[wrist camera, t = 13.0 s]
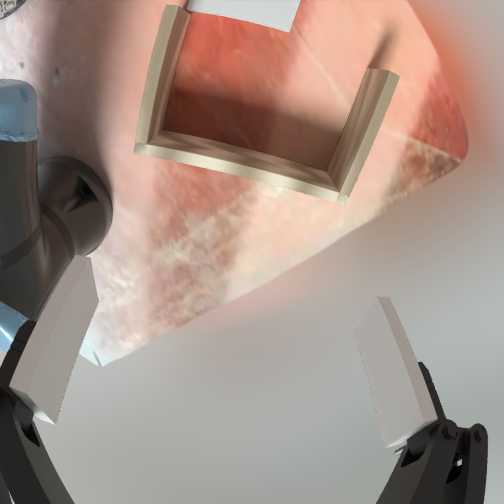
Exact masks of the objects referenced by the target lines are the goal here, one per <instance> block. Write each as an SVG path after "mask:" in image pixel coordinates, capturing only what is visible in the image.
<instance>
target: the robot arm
mask: <svg viewBox="0 0 504 504" xmlns="http://www.w3.org/2000/svg"><path fill="white" fill-rule="evenodd" d="M38 137H39V130H38V128H37V95H36V92H35V90H34V88H33V87H32V86H31V85H30V84H29V83H27V82H25V81H21V80H14V79H0V350H3V351H6V352H7V354H6V356H5V358H4V361H3V363H2V365H1V367H0V504H12V502H11V498H10V495H9V492H10V494H11V496H12V499H13V501H14V503H15V504H75V503H74V502H73V500H72V498H71V497H70V495H69V493H68V492H67V490H66V488H65V486H64V485H63V483H62V481H61V479H60V477H59V476H58V474H57V472H56V470H55V468H54V466H53V464H52V462H51V460H50V458H49V456H48V453H47V451H46V449H45V447H44V445H43V442H42V440H41V438H40V435H39V433H38V431H37V428H36V426H35V423H34V421H33V420H32V419H33V415H34V414H35V415H36V416H37V417H39V418H40V419H42V420H44V421H47V422H49V423H52V424H55V425H56V423H57V419H58V415H59V412H60V408H61V405H62V401H63V398H64V394H65V392H66V388H67V385H68V382H69V379H70V376H71V373H72V370H73V367H74V364H75V361H76V358H77V356H78V353H79V350H80V347H81V345H82V342H83V339H84V337H85V334H86V332H87V329H88V327H89V324H90V322H91V319H92V317H93V314H94V312H95V309H96V307H97V305H98V302H99V300H98V295H97V291H96V286H95V281H94V275H93V270H92V264H91V258H90V257H84V256H86V255H88V254H90V253H92V252H93V251H95V250H96V249H97V248H98V247H99V246H100V244H101V243H102V241H103V240H104V238H105V237H106V235H107V234H108V232H109V229H110V226H111V222H112V207H111V202H110V198H109V195H108V193H107V190H106V188H105V186H104V185H103V183H102V181H101V180H100V179H99V177H98V176H97V175H96V174H95V173H94V172H93V171H92V170H91V169H90V168H89V167H88V166H86V165H85V164H83V163H82V162H80V161H78V160H76V159H73V158H70V157H63V156H59V157H53V158H49V159H47V160H45V161H44V162H42V163H41V164H39V165H38V166H37V139H38ZM354 335H355V338H356V341H357V345H358V348H359V351H360V355H361V358H362V362H363V365H364V369H365V372H366V376H367V379H368V383H369V386H370V390H371V394H372V398H373V401H374V405H375V409H376V413H377V417H378V421H379V425H380V429H381V434H382V438H383V442H384V447H390V446H394V445H398V444H400V443H402V442H403V441H405V440H407V445H405V446H403V447H401V448H399V449H398V450H396V451H395V453H394V454H395V455H396V454H398V453H400V452H402V453H401V454H400V455H398V457H399V459H398V462H397V464H396V466H395V468H394V470H393V472H392V474H391V476H390V478H389V480H388V482H387V484H386V486H385V488H384V490H383V492H382V494H381V495H380V497H379V499H378V501H377V503H376V504H483V503H484V495H485V486H486V475H487V457H488V435H487V431H486V429H485V427H484V426H483V425H481V424H475V425H473V426H472V427H470V428H461V427H457V425H456V423H454V422H453V421H452V420H448V419H446V417H445V415H444V412H443V409H442V406H441V403H440V400H439V397H438V394H437V392H436V390H435V386H434V384H433V382H432V379H431V376H430V373H429V371H428V369H427V368H426V367H425V365H424V364H423V363H422V362H417V360H416V357H415V355H414V352H413V350H412V347H411V345H410V342H409V340H408V338H407V335H406V333H405V331H404V329H403V326H402V324H401V322H400V319H399V317H398V315H397V313H396V310H395V308H394V306H393V304H392V302H391V300H390V298H386V297H377V298H376V299H375V301H374V303H373V304H372V306H371V307H370V309H369V310H368V312H367V314H366V315H365V317H364V319H363V320H362V321H361V323H360V324H359V326H358V327H357V329H356V330H355V332H354ZM461 459H462V465H460V466H458V465H457V461H459V460H461ZM8 490H9V491H8Z"/></svg>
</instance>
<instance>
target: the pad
mask: <svg viewBox="0 0 504 504" xmlns="http://www.w3.org/2000/svg"><path fill="white" fill-rule="evenodd" d="M300 1H301V0H190V1H189V4H188V7H187V10H188V11H195V12H202V13H208V14H214V15H220V16H225V17H230V18H235V19H240V20H244V21H248V22H252V23H256V24H260V25H264V26H268V27H272V28H275V29H278V30H282V31H285V32H288V33H289V32H290V29H291V26H292V23H293V21H294V18H295V15H296V12H297V9H298V7H299V4H300Z"/></svg>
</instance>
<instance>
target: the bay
mask: <svg viewBox="0 0 504 504" xmlns="http://www.w3.org/2000/svg"><path fill="white" fill-rule="evenodd" d="M190 16H191V15H190V14H189V13H188V12H186V11H185V10H184V9H182V8H181V7H180V6H175V5H166V6H165V10H164V13H163V16H162V19H161V23H160V26H159V30H158V33H157V37H156V41H155V45H154V49H153V53H152V57H151V61H150V65H149V69H148V74H147V79H146V83H145V88H144V93H143V99H142V104H141V110H140V115H139V121H138V128H137V134H136V141H135V149H134V154H139V155H145V156H150V157H155V158H160V159H165V160H170V161H175V162H180V163H185V164H190V165H194V166H199V167H203V168H208V169H212V170H216V171H221V172H225V173H229V174H233V175H237V176H241V177H245V178H249V179H253V180H257V181H261V182H265V183H268V184H272V185H276V186H279V187H283V188H287V189H290V190H294V191H297V192H301V193H304V194H308V195H311V196H315V197H318V198H321V199H325V200H328V201H331V202H334V203H338V204H341V205H344V206H345V204H346V202H347V200H348V198H349V196H350V194H351V192H352V189H353V187H354V185H355V183H356V181H357V179H358V176H359V174H360V172H361V170H362V167H363V165H364V163H365V161H366V158H367V156H368V154H369V152H370V149H371V147H372V145H373V142H374V140H375V138H376V135H377V133H378V131H379V128H380V126H381V123H382V121H383V118H384V116H385V114H386V111H387V109H388V106H389V104H390V101H391V99H392V96H393V93H394V91H395V88H396V86H397V83H398V80H399V78H400V76H398V75H397V74H395V73H393V72H391V71H387V70H381V69H374V68H367V70H366V73H365V75H364V78H363V81H362V83H361V86H360V89H359V91H358V94H357V96H356V99H355V102H354V104H353V107H352V109H351V112H350V115H349V117H348V120H347V122H346V125H345V127H344V130H343V132H342V135H341V137H340V140H339V142H338V145H337V147H336V150H335V152H334V155H333V157H332V159H331V162H330V164H329V167H328V169H327V171H326V172H325V171H322V170H319V169H316V168H313V167H310V166H307V165H303V164H300V163H297V162H294V161H290V160H287V159H283V158H280V157H276V156H273V155H269V154H266V153H262V152H258V151H255V150H251V149H247V148H243V147H239V146H235V145H231V144H227V143H223V142H218V141H214V140H210V139H205V138H201V137H196V136H191V135H186V134H181V133H176V132H171V131H166V130H162V129H163V124H164V119H165V114H166V109H167V104H168V100H169V95H170V91H171V86H172V82H173V78H174V74H175V70H176V66H177V62H178V58H179V54H180V51H181V47H182V43H183V40H184V36H185V33H186V30H187V26H188V23H189V20H190Z"/></svg>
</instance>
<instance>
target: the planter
mask: <svg viewBox="0 0 504 504" xmlns="http://www.w3.org/2000/svg"><path fill="white" fill-rule="evenodd" d="M25 1H26V0H0V19H3V18H5V17H7V16H9V15H10V14H12V13H13V12H15V11H16V10H17V9H18V8H19V7H20V6H21V5H22V4H23V3H24V2H25Z"/></svg>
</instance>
